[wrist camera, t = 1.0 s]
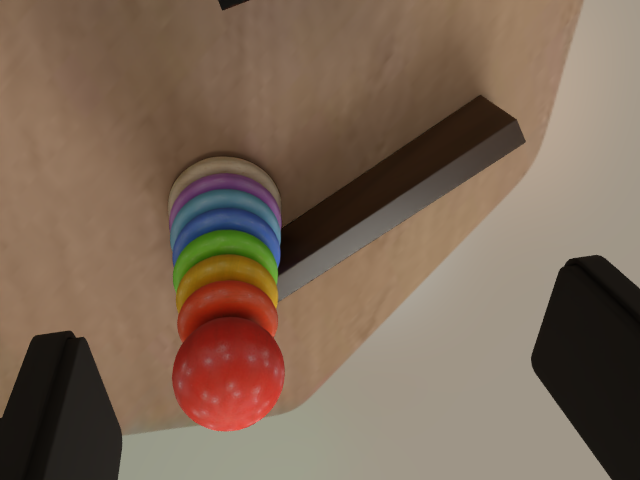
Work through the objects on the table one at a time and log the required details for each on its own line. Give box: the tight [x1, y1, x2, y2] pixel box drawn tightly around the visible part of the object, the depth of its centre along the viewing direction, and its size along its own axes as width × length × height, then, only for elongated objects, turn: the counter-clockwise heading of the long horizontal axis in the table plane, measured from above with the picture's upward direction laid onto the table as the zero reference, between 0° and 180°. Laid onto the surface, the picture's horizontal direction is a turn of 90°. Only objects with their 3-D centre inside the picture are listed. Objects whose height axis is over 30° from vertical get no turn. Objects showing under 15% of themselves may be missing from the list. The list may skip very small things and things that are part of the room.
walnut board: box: [276, 95, 525, 302], centre depth 36 cm, size 2×26×5 cm, turn 123°
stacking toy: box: [168, 156, 285, 431], centre depth 29 cm, size 8×8×19 cm
